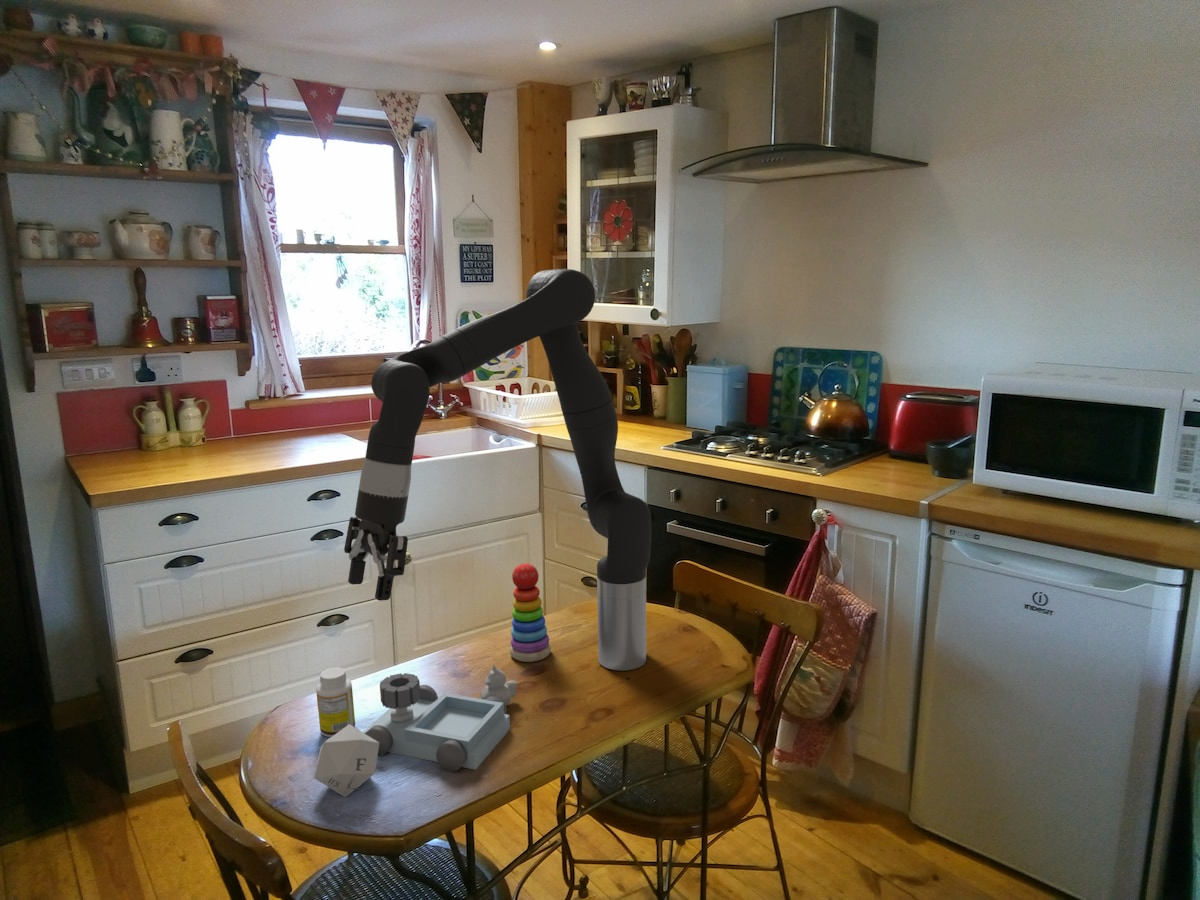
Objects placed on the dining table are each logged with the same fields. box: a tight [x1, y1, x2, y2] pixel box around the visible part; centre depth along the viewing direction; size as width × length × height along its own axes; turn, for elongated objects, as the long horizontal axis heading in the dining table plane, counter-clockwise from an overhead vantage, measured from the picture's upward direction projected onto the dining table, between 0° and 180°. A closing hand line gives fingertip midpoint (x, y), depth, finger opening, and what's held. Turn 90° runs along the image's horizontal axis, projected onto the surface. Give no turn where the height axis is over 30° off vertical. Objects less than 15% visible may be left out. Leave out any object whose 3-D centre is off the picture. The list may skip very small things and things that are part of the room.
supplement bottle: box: [315, 667, 356, 738], centre depth 134 cm, size 6×6×10 cm
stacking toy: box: [509, 563, 552, 663], centre depth 159 cm, size 8×8×19 cm
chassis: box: [362, 684, 511, 773], centre depth 131 cm, size 15×20×6 cm
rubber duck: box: [480, 663, 518, 707], centre depth 141 cm, size 5×7×8 cm
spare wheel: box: [379, 672, 421, 709], centre depth 133 cm, size 6×6×3 cm
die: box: [313, 724, 379, 798], centre depth 119 cm, size 8×9×10 cm
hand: (368, 591), depth 127 cm, fingers open, 8 cm apart
